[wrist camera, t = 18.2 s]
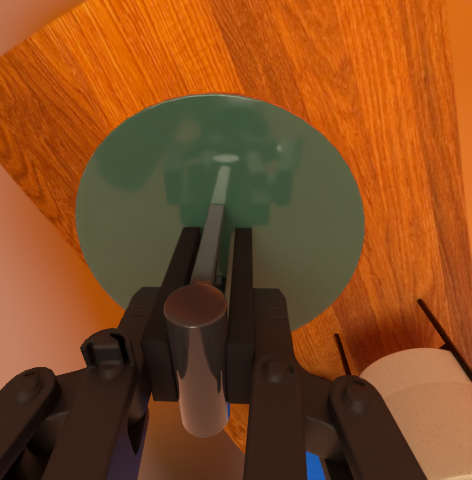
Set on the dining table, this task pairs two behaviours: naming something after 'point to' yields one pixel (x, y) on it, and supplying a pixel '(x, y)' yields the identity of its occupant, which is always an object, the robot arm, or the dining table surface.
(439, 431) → the planter
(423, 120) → the dining table surface
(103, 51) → the dining table surface
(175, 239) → the lid
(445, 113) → the dining table surface
